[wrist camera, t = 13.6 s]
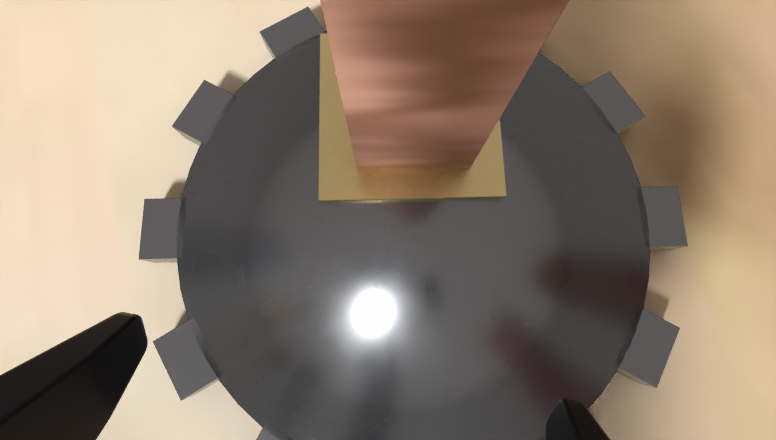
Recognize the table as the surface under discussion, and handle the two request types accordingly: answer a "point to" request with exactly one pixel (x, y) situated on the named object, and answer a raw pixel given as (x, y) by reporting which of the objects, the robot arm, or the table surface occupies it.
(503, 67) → the link block
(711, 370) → the table surface
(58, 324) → the table surface
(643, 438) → the table surface
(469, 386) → the timing wheel
